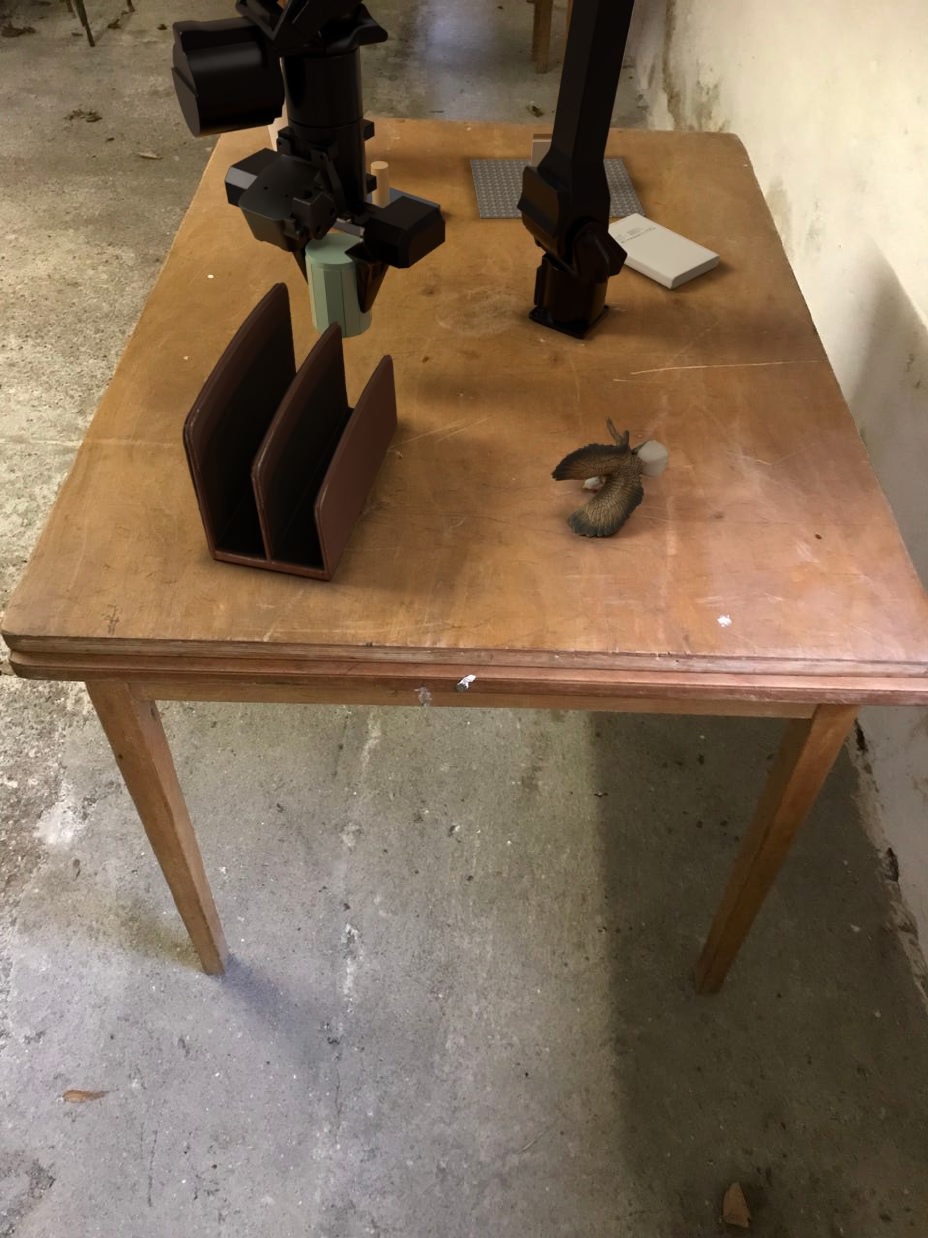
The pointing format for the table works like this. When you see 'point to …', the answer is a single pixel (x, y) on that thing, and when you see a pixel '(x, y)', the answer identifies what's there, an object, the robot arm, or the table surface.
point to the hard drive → (661, 251)
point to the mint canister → (334, 285)
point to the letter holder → (285, 445)
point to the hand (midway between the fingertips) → (340, 300)
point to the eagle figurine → (610, 480)
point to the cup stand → (381, 195)
